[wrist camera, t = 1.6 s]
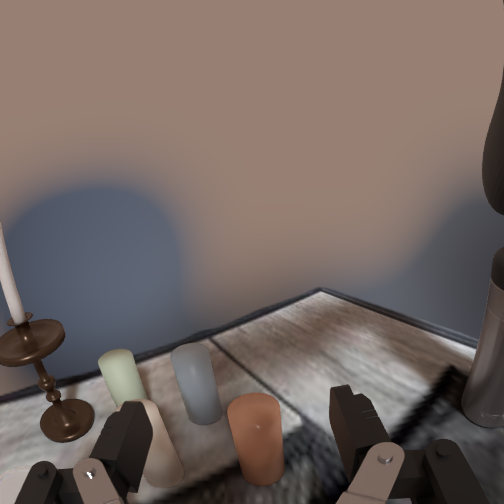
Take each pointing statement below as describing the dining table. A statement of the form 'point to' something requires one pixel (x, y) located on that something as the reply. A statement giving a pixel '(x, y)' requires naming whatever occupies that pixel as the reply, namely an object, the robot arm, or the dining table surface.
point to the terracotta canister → (258, 437)
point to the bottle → (12, 484)
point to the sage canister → (121, 376)
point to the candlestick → (32, 351)
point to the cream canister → (160, 452)
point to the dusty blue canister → (197, 383)
